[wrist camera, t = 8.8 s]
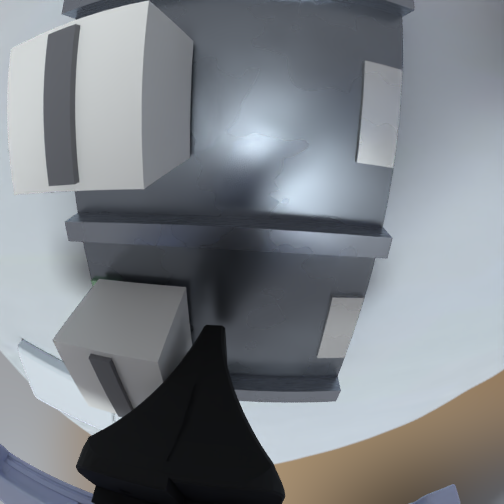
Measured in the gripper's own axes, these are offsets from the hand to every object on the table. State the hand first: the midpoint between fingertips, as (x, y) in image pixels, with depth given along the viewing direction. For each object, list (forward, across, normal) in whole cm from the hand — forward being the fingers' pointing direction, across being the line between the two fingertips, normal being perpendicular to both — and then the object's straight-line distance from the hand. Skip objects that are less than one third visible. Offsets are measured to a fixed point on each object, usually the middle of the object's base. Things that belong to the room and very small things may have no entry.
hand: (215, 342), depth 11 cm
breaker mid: (+1, +3, -9) cm, 10 cm away
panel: (+2, 0, -9) cm, 9 cm away
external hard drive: (+3, +12, +11) cm, 16 cm away
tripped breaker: (+1, +3, 0) cm, 3 cm away
